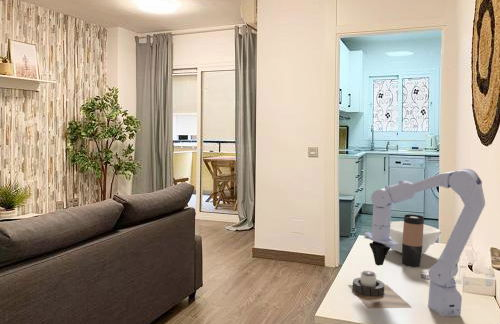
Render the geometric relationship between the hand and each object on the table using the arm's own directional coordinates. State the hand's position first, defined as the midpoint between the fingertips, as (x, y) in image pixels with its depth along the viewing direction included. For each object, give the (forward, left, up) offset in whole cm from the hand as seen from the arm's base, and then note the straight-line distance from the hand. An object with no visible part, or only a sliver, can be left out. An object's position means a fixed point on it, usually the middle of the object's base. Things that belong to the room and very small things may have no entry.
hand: (379, 264), depth 140 cm
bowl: (+44, -33, -10) cm, 56 cm away
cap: (0, +3, -9) cm, 9 cm away
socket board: (-4, +2, -10) cm, 11 cm away
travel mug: (+28, -26, -10) cm, 40 cm away
